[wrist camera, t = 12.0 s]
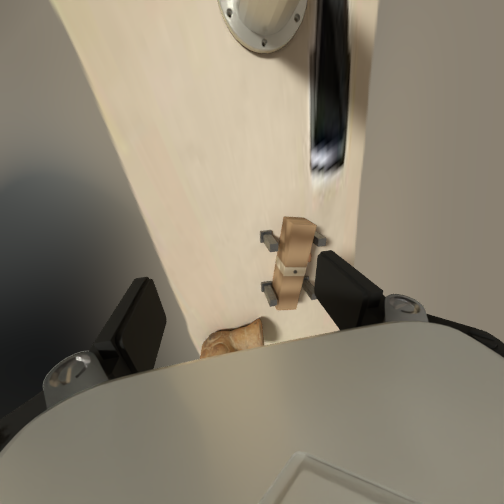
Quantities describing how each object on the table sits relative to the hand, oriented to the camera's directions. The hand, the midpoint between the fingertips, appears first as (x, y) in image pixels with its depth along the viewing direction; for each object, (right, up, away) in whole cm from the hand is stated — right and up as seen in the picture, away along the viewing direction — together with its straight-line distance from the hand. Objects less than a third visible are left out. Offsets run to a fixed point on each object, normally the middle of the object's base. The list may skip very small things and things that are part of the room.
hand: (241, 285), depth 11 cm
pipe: (-5, -19, +41) cm, 45 cm away
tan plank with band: (+8, 0, +34) cm, 35 cm away
